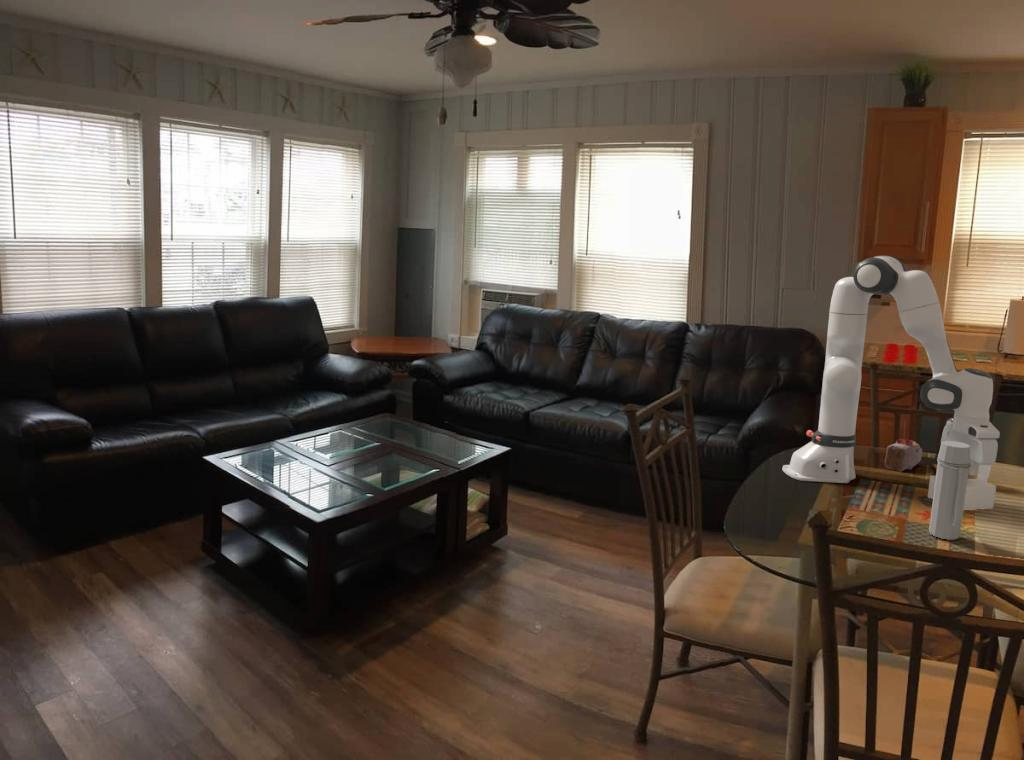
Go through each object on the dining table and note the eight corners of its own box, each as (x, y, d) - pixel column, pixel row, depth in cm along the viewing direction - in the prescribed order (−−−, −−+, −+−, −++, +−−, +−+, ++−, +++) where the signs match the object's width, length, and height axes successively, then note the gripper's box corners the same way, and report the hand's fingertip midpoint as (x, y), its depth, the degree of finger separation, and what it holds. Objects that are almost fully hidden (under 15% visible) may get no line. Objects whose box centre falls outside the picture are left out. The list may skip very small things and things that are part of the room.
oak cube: (960, 478, 229) (962, 462, 228) (949, 473, 234) (952, 457, 233) (976, 478, 230) (979, 462, 229) (966, 473, 235) (968, 457, 234)
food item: (898, 460, 276) (901, 433, 274) (922, 466, 270) (925, 438, 268) (881, 468, 266) (885, 439, 264) (906, 473, 261) (909, 444, 259)
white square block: (959, 512, 226) (962, 488, 225) (927, 498, 238) (930, 475, 236) (993, 509, 229) (996, 486, 228) (960, 495, 241) (963, 473, 239)
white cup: (992, 489, 247) (997, 458, 245) (965, 486, 248) (969, 456, 246) (983, 481, 254) (987, 451, 252) (956, 479, 256) (960, 449, 254)
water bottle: (922, 530, 211) (933, 439, 207) (953, 531, 211) (965, 441, 206) (937, 543, 202) (949, 449, 198) (969, 545, 202) (982, 450, 197)
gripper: (938, 416, 239) (932, 460, 242) (982, 434, 219) (975, 481, 222) (958, 416, 239) (952, 460, 242) (1004, 434, 219) (997, 481, 222)
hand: (963, 470), depth 232 cm, fingers closed on oak cube, 5 cm apart
